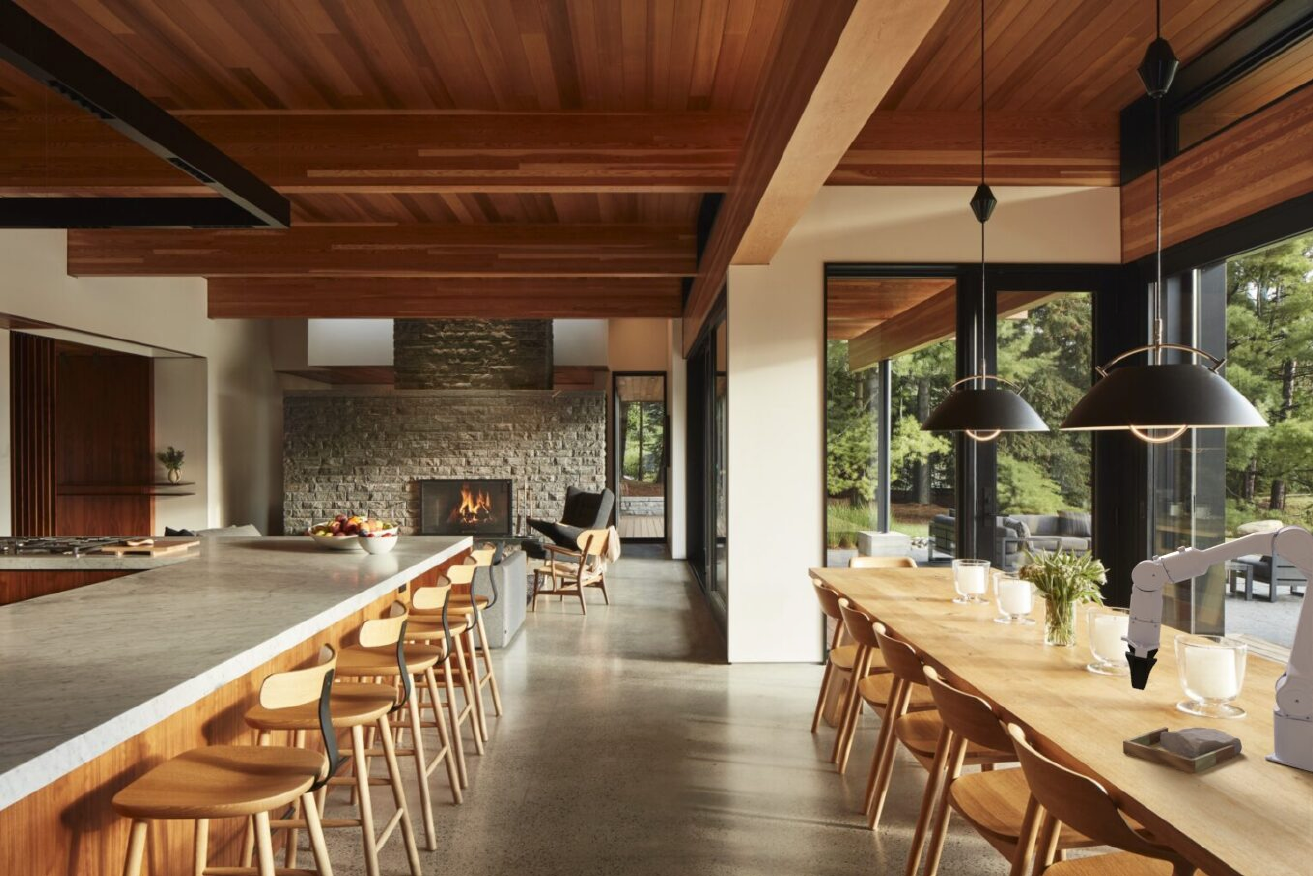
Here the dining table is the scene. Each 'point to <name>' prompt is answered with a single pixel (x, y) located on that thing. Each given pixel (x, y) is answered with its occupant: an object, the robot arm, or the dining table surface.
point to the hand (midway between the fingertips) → (1138, 684)
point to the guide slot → (1141, 749)
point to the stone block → (1198, 741)
